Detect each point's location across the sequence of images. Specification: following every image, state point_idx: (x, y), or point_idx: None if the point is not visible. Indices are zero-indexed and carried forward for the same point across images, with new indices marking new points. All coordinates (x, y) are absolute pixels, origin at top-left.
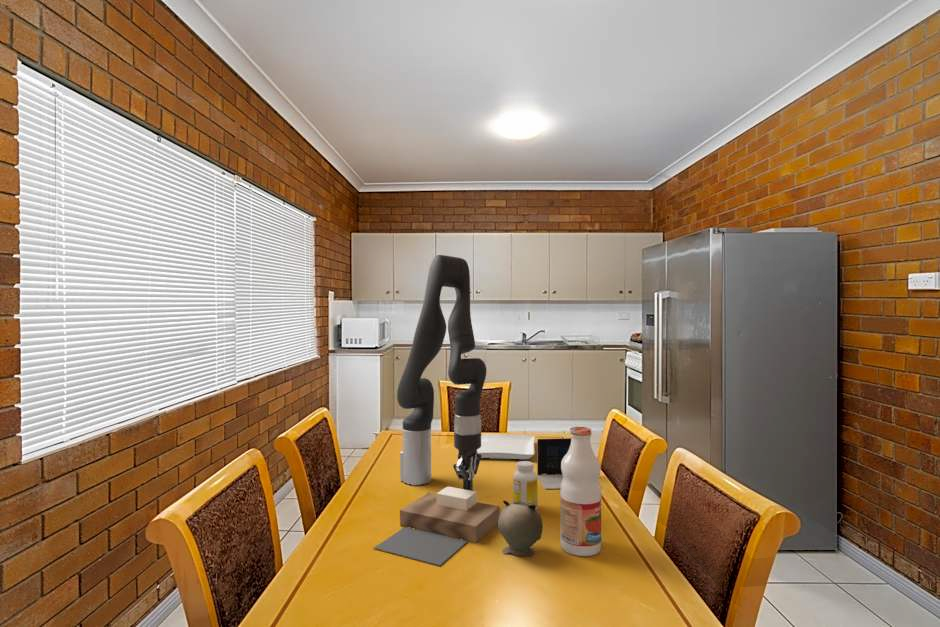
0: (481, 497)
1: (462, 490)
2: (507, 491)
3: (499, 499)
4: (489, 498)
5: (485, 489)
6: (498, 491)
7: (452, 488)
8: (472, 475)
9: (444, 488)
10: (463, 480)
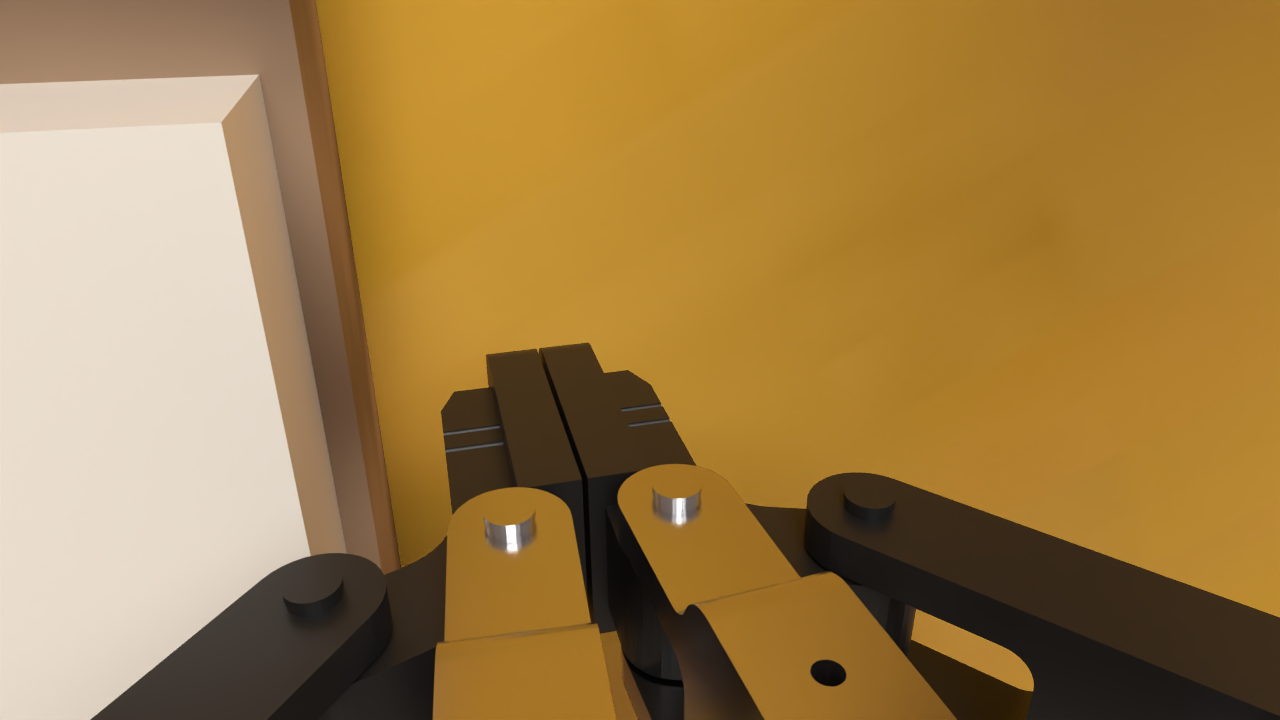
0: (989, 192)
1: (226, 558)
2: (1228, 355)
3: (985, 404)
4: (984, 296)
5: (1263, 92)
6: (1216, 271)
7: (180, 316)
8: (658, 701)
9: (16, 136)
10: (446, 542)
